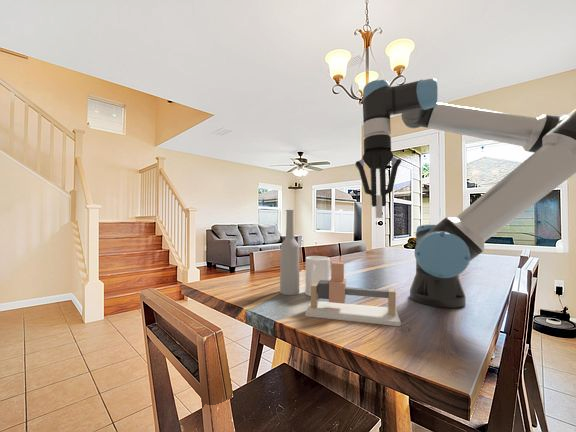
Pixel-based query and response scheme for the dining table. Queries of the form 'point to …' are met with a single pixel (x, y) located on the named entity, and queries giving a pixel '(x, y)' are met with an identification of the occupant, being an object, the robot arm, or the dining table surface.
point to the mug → (316, 271)
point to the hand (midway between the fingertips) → (379, 217)
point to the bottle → (289, 259)
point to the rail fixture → (353, 306)
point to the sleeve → (337, 283)
